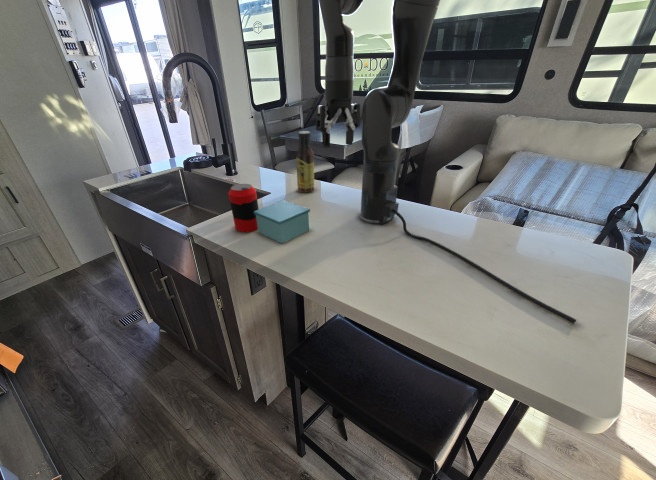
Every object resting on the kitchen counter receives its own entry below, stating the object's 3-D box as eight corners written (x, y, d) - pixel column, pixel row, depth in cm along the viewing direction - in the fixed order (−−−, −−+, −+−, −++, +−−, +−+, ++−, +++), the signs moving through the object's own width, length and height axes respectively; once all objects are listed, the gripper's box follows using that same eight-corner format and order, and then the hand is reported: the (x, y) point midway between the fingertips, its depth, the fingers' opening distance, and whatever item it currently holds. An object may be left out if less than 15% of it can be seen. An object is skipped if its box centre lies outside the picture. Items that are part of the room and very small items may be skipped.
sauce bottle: (295, 189, 118) (291, 131, 106) (310, 186, 120) (307, 129, 108) (302, 194, 113) (298, 134, 101) (317, 191, 115) (316, 132, 103)
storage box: (310, 230, 89) (309, 209, 85) (281, 244, 83) (279, 222, 79) (285, 220, 95) (283, 199, 92) (256, 232, 89) (253, 211, 86)
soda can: (242, 235, 88) (234, 193, 81) (231, 226, 93) (223, 186, 86) (265, 227, 92) (260, 187, 84) (253, 219, 97) (247, 180, 89)
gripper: (326, 78, 76) (326, 150, 85) (368, 78, 83) (364, 144, 92) (309, 79, 81) (311, 147, 90) (350, 79, 88) (347, 142, 97)
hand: (338, 146), depth 91 cm, fingers open, 8 cm apart
